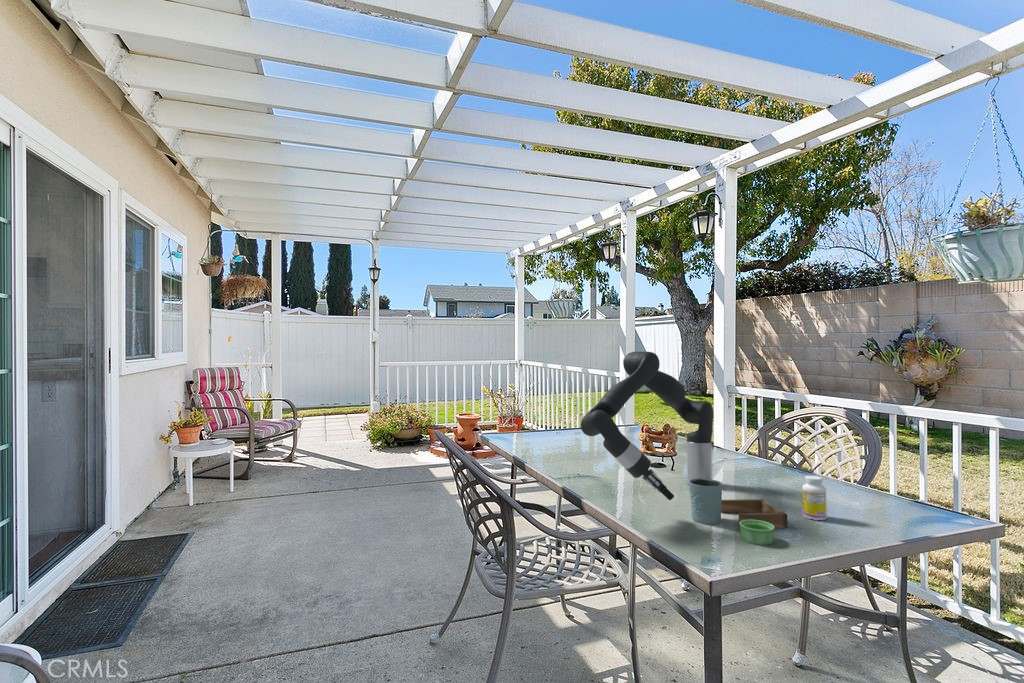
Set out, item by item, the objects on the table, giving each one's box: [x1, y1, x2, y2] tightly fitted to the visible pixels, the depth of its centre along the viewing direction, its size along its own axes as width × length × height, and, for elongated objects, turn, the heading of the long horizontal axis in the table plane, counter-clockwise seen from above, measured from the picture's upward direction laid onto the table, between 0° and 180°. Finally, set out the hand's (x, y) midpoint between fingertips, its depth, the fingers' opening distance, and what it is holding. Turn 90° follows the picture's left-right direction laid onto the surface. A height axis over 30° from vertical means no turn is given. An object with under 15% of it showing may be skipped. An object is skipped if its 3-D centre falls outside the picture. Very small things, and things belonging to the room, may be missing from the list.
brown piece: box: [721, 498, 789, 529], centre depth 161 cm, size 15×14×4 cm
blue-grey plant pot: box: [688, 478, 723, 526], centre depth 161 cm, size 10×10×12 cm
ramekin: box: [738, 519, 775, 546], centre depth 144 cm, size 9×9×4 cm
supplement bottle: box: [801, 475, 828, 521], centre depth 162 cm, size 7×7×13 cm
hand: (671, 497), depth 161 cm, fingers closed
